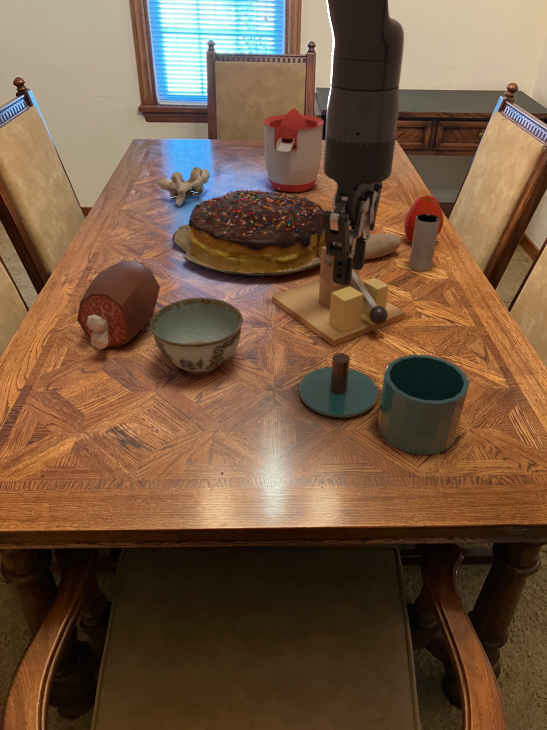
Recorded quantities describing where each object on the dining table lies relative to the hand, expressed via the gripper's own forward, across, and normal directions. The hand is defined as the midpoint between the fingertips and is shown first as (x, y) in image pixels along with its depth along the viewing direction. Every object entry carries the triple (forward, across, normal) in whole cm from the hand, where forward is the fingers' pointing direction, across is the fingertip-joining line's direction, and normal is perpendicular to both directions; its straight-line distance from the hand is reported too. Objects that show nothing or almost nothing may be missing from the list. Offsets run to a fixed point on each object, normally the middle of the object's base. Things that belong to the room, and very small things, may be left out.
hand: (348, 274), depth 71 cm
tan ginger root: (+19, +59, +65) cm, 90 cm away
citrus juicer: (+19, +80, +44) cm, 93 cm away
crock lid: (+19, 0, 0) cm, 19 cm away
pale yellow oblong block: (+18, +17, +5) cm, 25 cm away
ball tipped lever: (+14, +21, +5) cm, 25 cm away
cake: (+19, +42, +34) cm, 57 cm away
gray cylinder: (+19, +47, 0) cm, 51 cm away
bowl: (+19, -2, +22) cm, 29 cm away
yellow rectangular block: (+18, +22, +2) cm, 29 cm away
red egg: (+19, +59, +3) cm, 62 cm away
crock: (+19, -2, -12) cm, 23 cm away
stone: (+19, +47, +10) cm, 52 cm away
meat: (+19, +1, +39) cm, 44 cm away
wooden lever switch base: (+19, +23, +9) cm, 31 cm away
